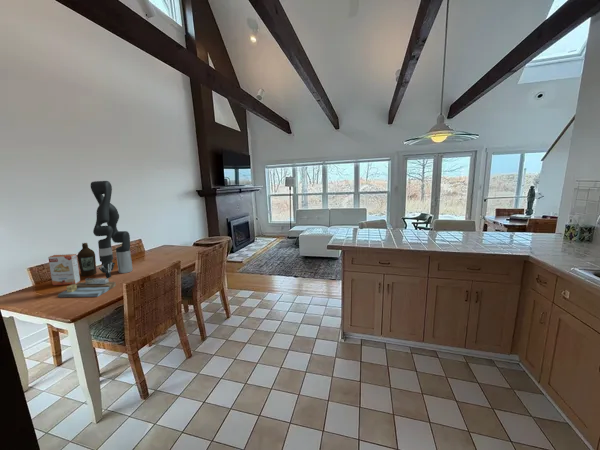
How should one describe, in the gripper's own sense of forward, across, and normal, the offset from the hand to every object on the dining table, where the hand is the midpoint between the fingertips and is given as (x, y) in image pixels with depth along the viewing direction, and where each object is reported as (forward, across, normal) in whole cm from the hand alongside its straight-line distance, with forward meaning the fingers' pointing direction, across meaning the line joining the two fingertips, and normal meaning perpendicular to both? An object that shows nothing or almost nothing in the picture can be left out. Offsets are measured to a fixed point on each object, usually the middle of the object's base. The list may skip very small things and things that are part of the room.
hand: (108, 277), depth 180 cm
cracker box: (+5, -2, -31) cm, 31 cm away
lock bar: (+1, +7, -3) cm, 8 cm away
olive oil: (+4, -21, -30) cm, 37 cm away
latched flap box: (+5, +13, -5) cm, 14 cm away
